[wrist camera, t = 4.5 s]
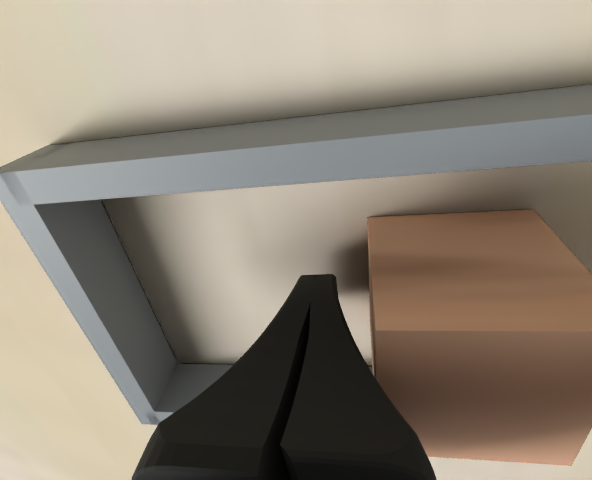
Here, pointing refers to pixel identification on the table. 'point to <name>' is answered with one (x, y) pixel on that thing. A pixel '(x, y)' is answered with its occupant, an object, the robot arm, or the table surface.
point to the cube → (482, 334)
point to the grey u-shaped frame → (246, 174)
